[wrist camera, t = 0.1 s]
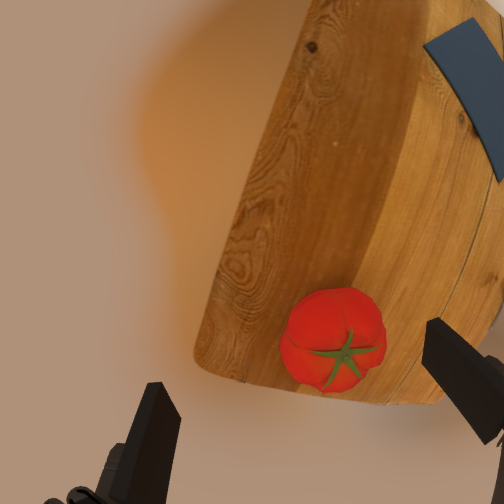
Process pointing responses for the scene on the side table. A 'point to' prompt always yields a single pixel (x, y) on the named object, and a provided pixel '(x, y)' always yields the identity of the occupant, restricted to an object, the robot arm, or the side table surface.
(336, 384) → the tomato
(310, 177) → the side table surface
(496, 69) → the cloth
